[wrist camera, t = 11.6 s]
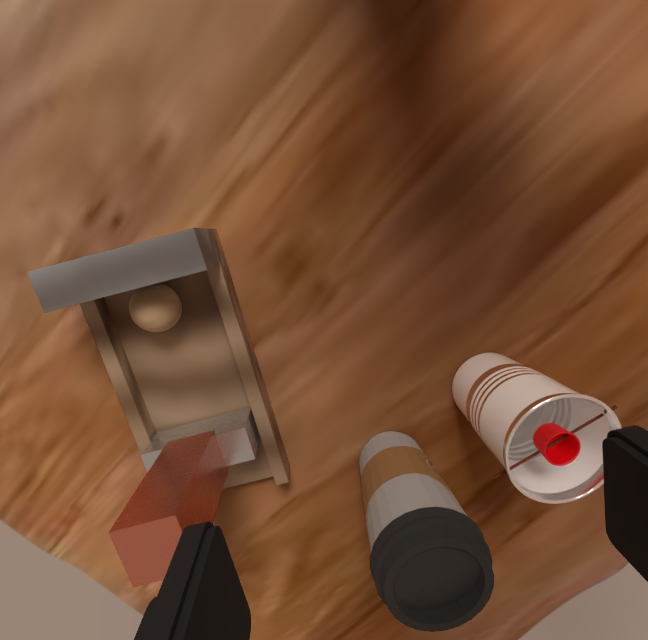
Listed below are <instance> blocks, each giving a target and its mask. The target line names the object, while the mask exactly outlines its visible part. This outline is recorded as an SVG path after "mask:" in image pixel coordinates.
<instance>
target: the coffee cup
mask: <svg viewBox="0 0 648 640" xmlns="http://www.w3.org/2000/svg"><path fill="white" fill-rule="evenodd" d="M359 465H360V474H361V488H362V496H363V504H364V512H365V520H366V528H367V533H368V536H369V542H370V550H371V555H370V570H371V573H372V576H373V579H374V582H375V585H376V588H377V590H378V593H379V596H380V597H381V599H382V600H383V601H384V602H385V604H386V605H387V606H388V609H389V610H390V611H391V613H392V614H393V615H394V617H395V618H396V619H398V620H399V621H400V622H402V623H403V624H405V625H406V626H409V627H411V628H414V629H417V630H422V631H430V632H433V631H444V630H448V629H451V628H455V627H458V626H460V625H462V624H464V623H466V622H467V621H469V620H471V619H472V618H473V617H474V616H476V615H477V614H478V613H479V612H480V611H481V610H482V609H483V607H484V606H485V605H486V603H487V602H488V600H489V598H490V596H491V593H492V590H493V586H494V574H493V570H492V558H491V554H490V550H489V547H488V545H487V544H486V542H485V540H484V537H483V534H482V532H481V531H480V529H479V528H478V526H477V525H476V523H475V522H473V521H472V520H471V519H470V518H469V517H468V516H467V515H466V514H465V512H464V511H463V509H462V508H461V506H460V503H459V502H458V500H457V499H456V497H455V496H454V494H453V493H452V491H451V490H450V488H449V487H448V486H447V484H446V483H445V481H444V480H443V478H442V477H441V476H440V474H439V473H438V471H437V470H436V468H435V467H434V466H433V464H432V463H431V461H430V460H429V458H428V457H427V456H426V454H425V453H424V452H423V451H422V450H421V448H420V447H419V446H418V444H417V443H416V441H415V440H413V439H412V438H411V437H410V436H408V435H406V434H404V433H400V432H394V431H388V432H383V433H380V434H377V435H376V436H374V437H372V438H371V439H370V440H369V441H368V442H367V443H366V445H365V446H364V448H363V450H362V451H361V454H360V458H359Z"/></svg>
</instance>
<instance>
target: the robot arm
mask: <svg viewBox="0 0 648 640" xmlns="http://www.w3.org/2000/svg"><path fill="white" fill-rule="evenodd" d="M602 451H603V475H604V498H605V521H606V532H607V535H608V537H609V539H610V541H611V543H612V544H613V545H614V547H615V548H616V549H617V550H618V551H619V552H620V553H621V554H622V555H623V556H624V557H625V558H626V559H627V561H628V562H629V563H630V564H631V565H632V566H633V567H634V568H635V569H636V570H637V571H638V572H639V573H640V574H641V575H642V576H643V577H644V578H645V580H646V581H648V431H647V430H645V429H643V428H642V427H639V426H634V425H633V426H629V427H625V428H620V429H616V430H612V431H609V432H608V434H607V438H606V439H604V440H603V442H602ZM250 631H251V614H250V609H249V606H248V603H247V600H246V597H245V595H244V592H243V589H242V586H241V583H240V581H239V578H238V575H237V572H236V569H235V566H234V564H233V561H232V558H231V555H230V552H229V550H228V547H227V544H226V541H225V538H224V536H223V533H222V530H221V528H220V527H219V526H215V527H214V526H213V524H212V523H211V522H210V521H207V522H203V523H198V524H194V525H189V526H186V527H185V528H184V530H183V532H182V534H181V537H180V539H179V542H178V544H177V547H176V550H175V552H174V555H173V557H172V560H171V562H170V565H169V567H168V570H167V573H166V575H165V578H164V580H163V583H162V585H161V588H160V590H159V593H158V596H157V597H155V598H154V599H153V600H152V601H151V602H150V603H149V605H148V607H147V609H146V611H145V614H144V616H143V619H142V621H141V624H140V626H139V628H138V631H137V633H136V636H135V638H134V640H249V638H250Z"/></svg>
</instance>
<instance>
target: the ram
mask: <svg viewBox="0 0 648 640" xmlns="http://www.w3.org/2000/svg"><path fill="white" fill-rule="evenodd" d="M259 439H260V434H259V431H258V428H257V425H256V422H255V418H254V415H253V412H252V409H251V407H249V408H245V409H241V410H237V411H234V412H230V413H226V414H222V415H218V416H214V417H211V418H207V419H203V420H199V421H195V422H191V423H188V424H184V425H180V426H176V427H172V428H169V429H165V430H161V431H158V432H157V433H156V434H155V436H154V437H153V439H152V440H151V441H150V443H149V444H148V445H147V447H146V448H145V449H144V451H143V452H142V453H141V455H140V456H141V458H142V461H143V463H144V465H145V468H146V470H147V474H146V476H145V477H144V479H143V480H142V482H141V484H140V485H139V487H138V488H137V490H136V491H135V493H134V494H133V496H132V497H131V499H130V500H129V502H128V504H127V505H126V507H125V508H124V510H123V511H122V513H121V514H120V516H119V517H118V519H117V520H116V522H115V524H114V525H113V527H112V528H111V530H110V531H109V535H110V537H111V539H112V541H113V543H114V546H115V548H116V550H117V552H118V554H119V557H120V559H121V561H122V563H123V566H124V568H125V570H126V572H127V574H128V577H129V579H130V581H131V583H132V585H133V587H136V586H140V585H144V584H148V583H152V582H156V581H159V580H163V579H164V578H165V575H166V573H167V570H168V567H169V565H170V562H171V560H172V557H173V555H174V552H175V550H176V547H177V544H178V542H179V539H180V537H181V534H182V532H183V530H184V528H185V527H186V526H189V525H194V524H198V523H203V522H207V521H210V522H211V523H213V520H214V517H215V513H216V510H217V507H218V504H219V501H220V497H221V494H222V491H223V488H224V485H225V481H226V478H227V475H228V472H229V471H228V468H227V466H230V465H234V464H238V463H242V462H246V461H249V460H253V459H255V458H256V453H257V448H258V444H259Z"/></svg>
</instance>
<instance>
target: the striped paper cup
mask: <svg viewBox="0 0 648 640" xmlns="http://www.w3.org/2000/svg"><path fill="white" fill-rule="evenodd" d="M452 395H453V399H454V401H455V403H456V405H457V406H458V408H459V409H460V410H461V412H462V413H463V414H464V416H465V417H466V418H467V420H468V421H469V422H470V424H471V425H472V427H473V428H474V430H475V431H476V433H477V434H478V435H479V437H480V438H481V439H482V441H483V442H484V443H485V444H486V446H487V447H488V448H489V449H490V450H491V452H492V453H493V454H494V455H495V457H496V458H497V459H498V460H499V462H500V463H501V464H502V465H503V467H504V468H505V469H506V470H504V471H502V472H501V473H499V474H497V475H495V476H494V478H495V479H497V478H498V477H500V476H502V475H503V474H505V473H507V475H508V477H509V479H510V481H511V482H512V484H513V485H514V486H515V488H516V489H517V490H518V491H519V492H521V493H522V494H523V495H525V496H526V497H528V498H530V499H532V500H535V501H538V502H542V503H549V504H559V503H567V502H571V501H575V500H578V499H580V498H582V497H585V496H587V495H588V494H590V493H592V492H593V491H595V490H596V489H597V488H599V487H600V486H601V485H602V484H603V483H604V475H603V451H602V442H603V440H604V439H606V438H607V434H608V432H609V431H612V430H616V429H620V428H622V427H621V424H620V421H619V419H618V417H617V416H616V414H615V413H614V411H613V410H614V409H616V408H617V406H616V405H615V406H613V407H612V408H610V407H609V406H608V405H607V404H605V403H604V402H603V401H601V400H599V399H597V398H595V397H592V396H589V395H585V394H580V393H578V392H576V391H574V390H572V389H570V388H568V387H566V386H564V385H562V384H560V383H559V382H557V381H555V380H554V379H552V378H550V377H548V376H546V375H544V374H542V373H540V372H538V371H536V370H534V369H531V368H529V367H526V366H524V365H522V364H520V363H518V362H516V361H514V360H512V359H510V358H508V357H506V356H504V355H502V354H498V353H491V352H489V353H481V354H478V355H475V356H473V357H471V358H469V359H468V360H467V361H465V362H464V363H463V364H462V365H461V366H460V367H459V369H458V370H457V372H456V374H455V376H454V379H453V382H452Z"/></svg>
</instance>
